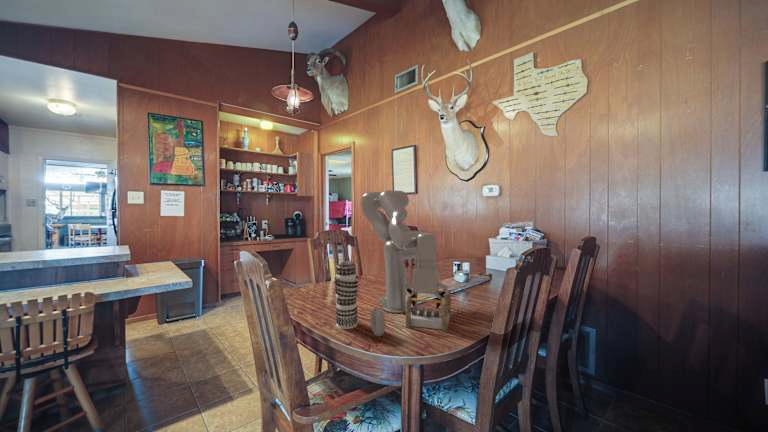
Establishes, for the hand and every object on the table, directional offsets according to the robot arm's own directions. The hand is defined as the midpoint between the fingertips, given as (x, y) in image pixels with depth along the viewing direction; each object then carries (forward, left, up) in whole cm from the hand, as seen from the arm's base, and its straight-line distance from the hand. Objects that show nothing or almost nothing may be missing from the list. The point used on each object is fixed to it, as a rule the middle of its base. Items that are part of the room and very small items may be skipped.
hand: (425, 306), depth 123 cm
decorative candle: (-30, -11, -7) cm, 32 cm away
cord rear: (+1, +6, +4) cm, 8 cm away
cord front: (+1, -7, +4) cm, 8 cm away
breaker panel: (+1, 0, -7) cm, 7 cm away
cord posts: (+1, 0, -7) cm, 7 cm away
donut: (-15, -17, -7) cm, 24 cm away
